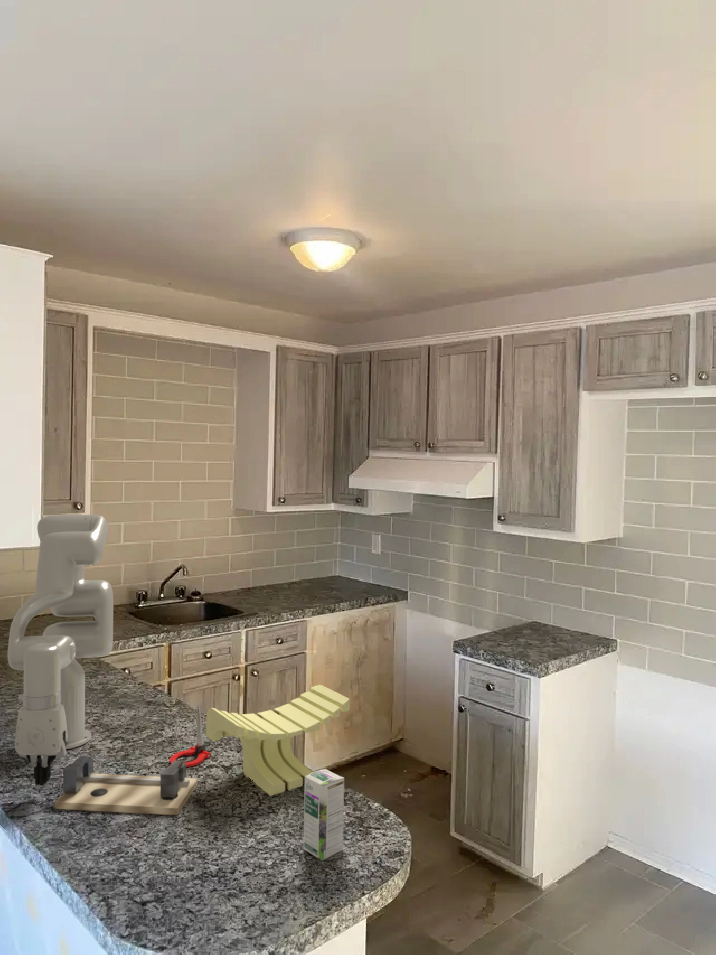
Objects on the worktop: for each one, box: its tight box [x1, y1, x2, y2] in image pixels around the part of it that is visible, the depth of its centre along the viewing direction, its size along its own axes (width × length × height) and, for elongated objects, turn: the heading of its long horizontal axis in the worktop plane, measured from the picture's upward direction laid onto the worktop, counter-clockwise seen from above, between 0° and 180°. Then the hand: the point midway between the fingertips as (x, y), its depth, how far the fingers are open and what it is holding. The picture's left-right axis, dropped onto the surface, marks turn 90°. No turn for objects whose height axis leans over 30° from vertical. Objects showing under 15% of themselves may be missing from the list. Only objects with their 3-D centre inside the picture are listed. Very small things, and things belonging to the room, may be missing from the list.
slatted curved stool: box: [205, 684, 351, 797], centre depth 171 cm, size 30×16×18 cm, turn 126°
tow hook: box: [169, 704, 212, 768], centre depth 179 cm, size 8×13×9 cm
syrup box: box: [303, 768, 345, 862], centre depth 139 cm, size 6×6×14 cm
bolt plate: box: [54, 760, 199, 816], centre depth 160 cm, size 27×14×7 cm, turn 85°
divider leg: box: [62, 755, 94, 793], centre depth 161 cm, size 3×8×5 cm, turn 175°
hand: (42, 782), depth 159 cm, fingers closed
